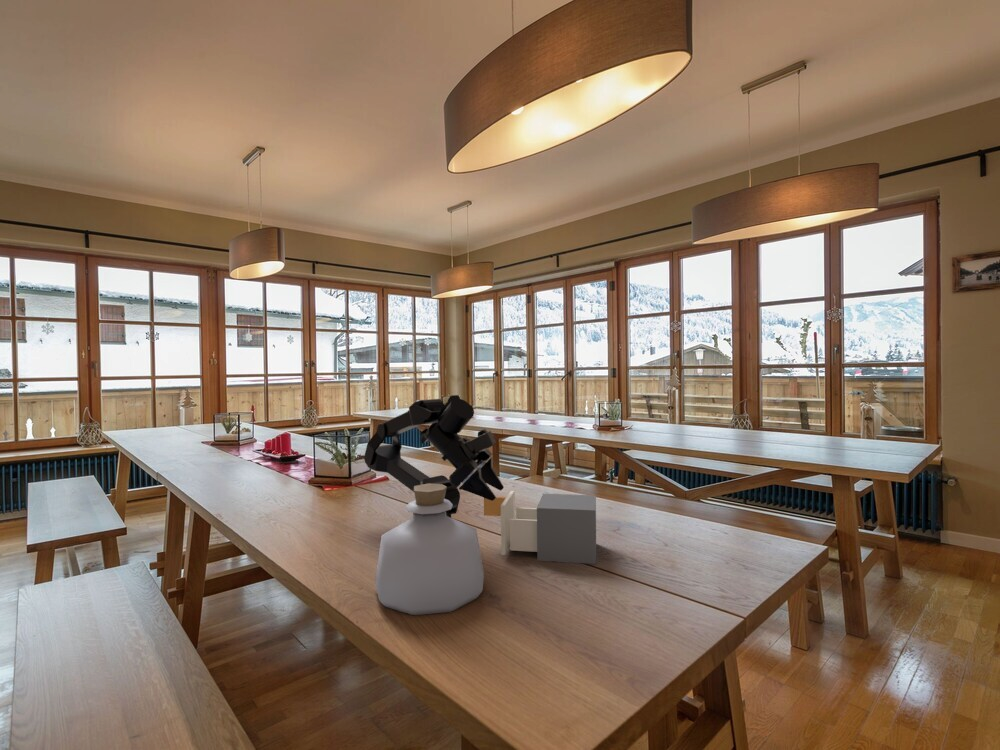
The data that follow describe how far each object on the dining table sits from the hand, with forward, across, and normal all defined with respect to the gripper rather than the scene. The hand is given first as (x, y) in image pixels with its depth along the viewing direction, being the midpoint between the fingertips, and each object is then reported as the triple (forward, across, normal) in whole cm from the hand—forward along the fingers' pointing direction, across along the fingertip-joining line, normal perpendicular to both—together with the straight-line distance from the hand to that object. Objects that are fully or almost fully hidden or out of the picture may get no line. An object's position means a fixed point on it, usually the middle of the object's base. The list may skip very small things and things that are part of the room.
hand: (498, 493), depth 111 cm
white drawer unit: (+11, 0, +4) cm, 12 cm away
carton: (+19, 0, -2) cm, 20 cm away
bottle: (+3, -22, +15) cm, 27 cm away
